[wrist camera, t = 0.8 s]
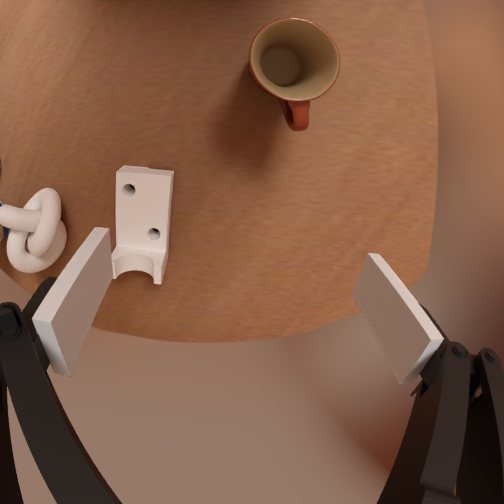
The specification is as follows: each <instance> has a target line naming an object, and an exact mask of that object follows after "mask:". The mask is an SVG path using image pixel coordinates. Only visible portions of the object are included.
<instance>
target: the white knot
mask: <svg viewBox="0 0 504 504" xmlns="http://www.w3.org/2000/svg"><path fill="white" fill-rule="evenodd" d="M60 218H61V200H60V196H59V194H58V193H57V192H56V190H54V189H52V188H44V189H42V190H40V191H38V192H37V193H36V194H35V195H34V196H33V197H32V198H31V199H30V200H29V201H28V202H27V204H26V205H25V206H24V208H23V209H22V208H17V207H14V206H11V205H6V204H5V205H2V206H1V207H0V224H1V225H2V226H4V227H7V228H10V229H11V230H10V233H9V236H8V240H7V256H8V259H9V261H10V263H11V264H12V266H13V267H14V268H16V269H17V270H19V271H21V272H25V273H35V272H39V271H42V270H44V269H46V268H47V267H49V266H50V265H52V264H53V263H54V262H55V261H56V260H57V259H58V257H59V256H60V255H61V253H62V251H63V250H64V247H65V244H66V240H67V233H66V228H65V225H64V223H63V222H62V221H61V220H60ZM26 239H28V249H29V251H30V253H28V252H26V251H25V241H26Z"/></svg>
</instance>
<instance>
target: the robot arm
mask: <svg viewBox="0 0 504 504" xmlns="http://www.w3.org/2000/svg"><path fill="white" fill-rule="evenodd" d="M112 278H113V268H112V257H111V245H110V229H109V228H101V227H95V228H94V229H93V231H92V232H91V233H90V234H89V236H88V237H87V238H86V240H85V241H84V242H83V244H82V245H81V246H80V248H79V249H78V250H77V252H76V253H75V254H74V256H73V257H72V258H71V260H70V261H69V263H68V264H67V265H66V267H65V268H64V270H63V271H62V273H61V274H60V275H59V277H58V278H56V277H49V278H48V279H46V280H45V281H44V282H42V283H41V284H40V286H39V287H38V289H37V290H36V293H34V294H33V296H32V297H31V299H30V300H29V302H28V303H27V305H26V306H25V308H24V309H23V311H22V312H21V309H20V308H19V306H18V305H17V304H15V303H12V302H5V303H1V304H0V504H24V503H23V499H22V495H21V491H20V487H19V483H18V478H17V474H16V469H15V463H14V458H13V451H12V444H11V437H10V428H9V418H8V405H7V387H8V389H9V392H10V396H11V399H12V403H13V406H14V409H15V412H16V415H17V418H18V421H19V423H20V426H21V429H22V431H23V434H24V436H25V439H26V441H27V444H28V446H29V448H30V451H31V453H32V455H33V458H34V460H35V462H36V464H37V466H38V468H39V470H40V473H41V474H42V477H43V479H44V480H45V482H46V484H47V486H48V488H49V490H50V492H51V493H52V495H53V497H54V499H55V501H56V502H57V504H122V503H121V501H120V500H119V499H118V497H117V496H116V495H115V493H114V492H113V490H112V489H111V488H110V487H109V485H108V483H107V482H106V481H105V479H104V478H103V476H102V475H101V473H100V472H99V471H98V469H97V467H96V466H95V464H94V463H93V461H92V459H91V458H90V456H89V454H88V453H87V451H86V449H85V448H84V446H83V444H82V442H81V441H80V439H79V437H78V435H77V434H76V432H75V430H74V428H73V426H72V424H71V423H70V421H69V419H68V417H67V415H66V413H65V411H64V409H63V407H62V404H61V402H60V400H59V399H58V396H57V394H56V392H55V389H54V387H53V385H52V383H51V380H50V378H49V375H48V374H47V369H48V366H49V364H51V367H52V369H53V371H54V373H58V374H62V375H66V376H70V377H71V376H72V373H73V371H74V368H75V365H76V362H77V360H78V357H79V355H80V352H81V350H82V347H83V344H84V342H85V339H86V337H87V334H88V332H89V330H90V327H91V325H92V322H93V320H94V318H95V315H96V313H97V311H98V309H99V306H100V304H101V302H102V300H103V297H104V295H105V293H106V291H107V289H108V286H109V284H110V282H111V280H112ZM352 296H353V298H354V299H355V301H356V303H357V305H358V306H359V308H360V310H361V312H362V314H363V315H364V317H365V319H366V321H367V323H368V324H369V326H370V328H371V330H372V332H373V334H374V336H375V337H376V339H377V341H378V343H379V345H380V347H381V349H382V351H383V352H384V355H385V357H386V359H387V361H388V363H389V364H390V366H391V368H392V370H393V372H394V374H395V376H396V378H397V380H398V382H399V384H400V385H404V384H410V383H413V382H414V381H415V379H416V378H417V377H418V375H419V374H420V375H421V377H422V381H421V382H420V383H419V385H418V386H417V387H416V388H415V390H414V391H413V392H412V394H411V396H413V395H414V394H415V393H417V394H416V397H415V401H414V405H413V408H412V412H411V415H410V418H409V422H408V425H407V428H406V431H405V434H404V437H403V440H402V443H401V446H400V449H399V452H398V454H397V457H396V460H395V463H394V465H393V467H392V470H391V472H390V475H389V477H388V479H387V482H386V484H385V486H384V489H383V491H382V493H381V495H380V498H379V500H378V502H377V504H504V371H503V368H502V365H501V362H500V359H499V357H498V355H497V354H496V353H495V352H494V351H493V350H492V349H489V348H485V347H484V348H482V349H481V350H480V352H479V353H478V355H472V354H469V352H468V350H467V349H466V348H465V347H464V346H463V345H462V344H460V343H458V342H450V341H449V340H448V338H447V337H446V335H445V334H444V332H443V331H442V330H441V328H440V327H439V325H438V324H436V321H435V320H434V319H433V318H432V316H431V315H430V313H429V312H428V311H427V309H425V308H424V307H423V306H422V305H421V304H420V303H418V302H417V301H416V300H415V298H414V297H413V296H412V294H411V293H410V292H409V290H408V289H407V288H406V287H405V285H404V284H403V283H402V281H401V280H400V279H399V278H398V276H397V275H396V274H395V273H394V271H393V270H392V269H391V268H390V267H389V265H388V264H387V263H386V262H385V260H384V259H383V258H382V257H381V256H380V254H373V253H367V256H366V259H365V262H364V264H363V267H362V270H361V272H360V275H359V278H358V280H357V283H356V285H355V288H354V290H353V293H352ZM480 388H482V393H481V395H480V396H479V397H478V398H477V395H476V393H477V392H478V391H479V389H480ZM455 483H456V496H455V495H454V487H455Z"/></svg>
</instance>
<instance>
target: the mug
mask: <svg viewBox="0 0 504 504" xmlns="http://www.w3.org/2000/svg"><path fill="white" fill-rule="evenodd" d="M339 70H340V56H339V52H338V49H337V46H336V44H335V42H334V41H333V39H332V38H331V36H330V35H329V34H328V33H327V32H326V31H325V30H324V29H323V28H321V27H320V26H318V25H317V24H315V23H313V22H310V21H308V20H305V19H300V18H283V19H278V20H275V21H273V22H271V23H269V24H267V25H265V26H264V27H263V28H262V29H261V30H260V31H259V32H258V33H257V34H256V36H255V37H254V39H253V41H252V43H251V46H250V51H249V72H250V75H251V77H252V79H253V81H254V82H255V84H256V85H257V86H258V87H259V88H260V89H262V90H263V91H265V92H267V93H269V94H272V95H274V96H276V97H278V98H279V102H280V104H281V106H282V109H283V112H284V116H285V119H286V122H287V124H288V126H289V128H290V129H291V130H293V131H303V130H306V129H307V127H308V125H309V107H310V100H313V99H316V98H319V97H320V96H322V95H323V94H324V93H326V92H327V91H328V90H329V89H330V88H331V87H332V85H333V84H334V82H335V81H336V79H337V77H338V74H339Z"/></svg>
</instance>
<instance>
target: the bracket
mask: <svg viewBox="0 0 504 504" xmlns="http://www.w3.org/2000/svg"><path fill="white" fill-rule="evenodd" d="M173 179H174V171H170V170H159V169H149V167H138V166H123V167H121V168H120V169H119V170H118V171H116V248H115V249H114V251H113V253H112V254H111V257H112V268H113V279H116V278H117V276H118V275H120V274H121V273H123V272H126V271H131V270H139V271H144V272H146V273H148V274H150V275H151V276H152V277H153V278H154V284H161V283H162V279H163V275H164V271H165V268H166V264H167V260H168V247H169V230H170V215H171V202H172V190H173ZM129 184H131V185H133V186H134V187H135V189H132V188H131V187H130V185H129ZM152 228H156V229H158V230H159V232H155V231H154V230H153V229H152Z"/></svg>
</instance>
